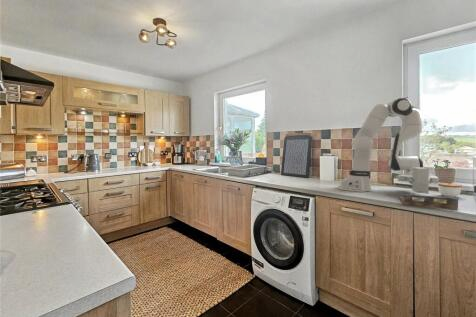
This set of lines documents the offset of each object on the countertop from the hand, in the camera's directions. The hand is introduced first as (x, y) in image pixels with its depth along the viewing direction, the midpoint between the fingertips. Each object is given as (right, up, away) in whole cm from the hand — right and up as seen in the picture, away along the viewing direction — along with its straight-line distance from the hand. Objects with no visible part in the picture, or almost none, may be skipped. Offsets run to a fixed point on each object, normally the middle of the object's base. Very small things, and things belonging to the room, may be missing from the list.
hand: (420, 180), depth 134 cm
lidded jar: (+24, -11, +7) cm, 27 cm away
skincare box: (0, -7, +1) cm, 7 cm away
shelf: (-5, -12, -11) cm, 17 cm away
